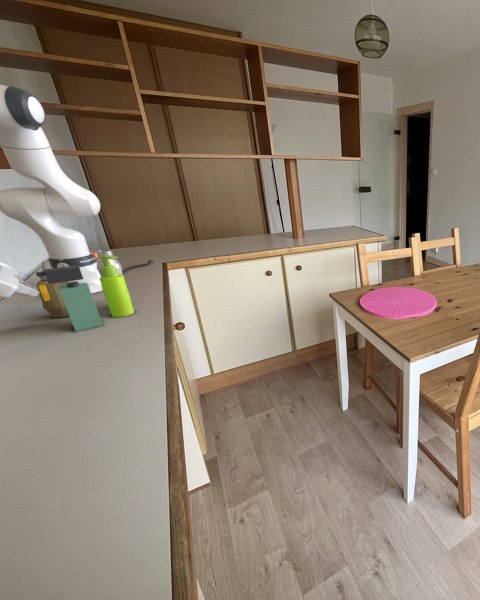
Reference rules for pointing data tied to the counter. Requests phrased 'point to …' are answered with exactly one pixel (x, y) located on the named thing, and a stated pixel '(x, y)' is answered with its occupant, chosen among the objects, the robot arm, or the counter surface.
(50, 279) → the spray bottle
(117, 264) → the plastic bottle
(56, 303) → the squeeze bottle
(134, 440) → the counter surface
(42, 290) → the block
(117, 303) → the soap dispenser
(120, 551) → the counter surface
